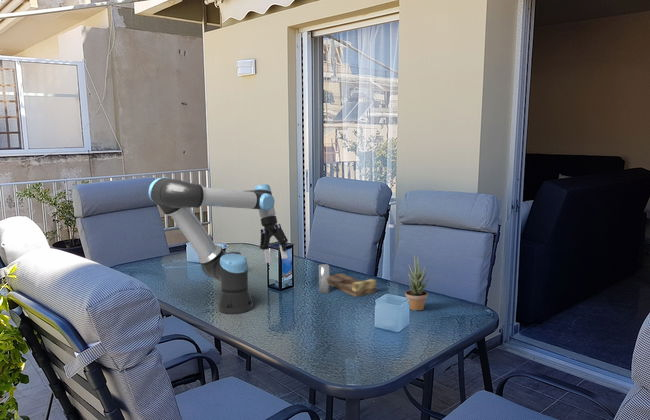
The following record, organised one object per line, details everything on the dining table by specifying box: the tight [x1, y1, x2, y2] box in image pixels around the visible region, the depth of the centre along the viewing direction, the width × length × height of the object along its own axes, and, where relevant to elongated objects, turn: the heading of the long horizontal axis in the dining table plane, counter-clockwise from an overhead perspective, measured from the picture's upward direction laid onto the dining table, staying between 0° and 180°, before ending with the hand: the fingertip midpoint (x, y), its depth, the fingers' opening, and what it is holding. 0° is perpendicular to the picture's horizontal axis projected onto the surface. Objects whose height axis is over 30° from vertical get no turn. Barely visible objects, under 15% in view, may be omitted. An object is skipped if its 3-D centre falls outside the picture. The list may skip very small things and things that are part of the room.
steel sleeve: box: [318, 263, 330, 294], centre depth 250 cm, size 5×5×13 cm
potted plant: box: [404, 254, 430, 311], centre depth 223 cm, size 10×10×25 cm
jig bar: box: [329, 272, 377, 298], centre depth 258 cm, size 12×30×6 cm, turn 32°
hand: (276, 260), depth 245 cm, fingers open, 13 cm apart
